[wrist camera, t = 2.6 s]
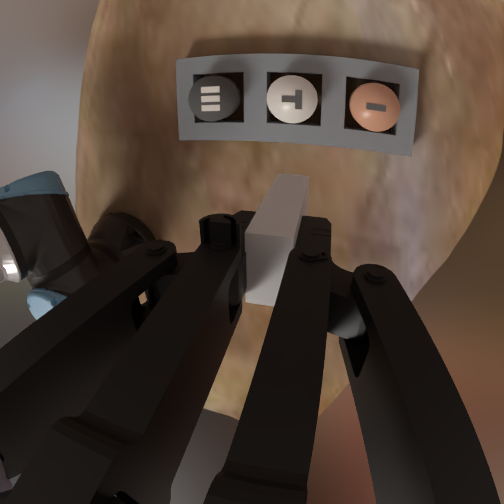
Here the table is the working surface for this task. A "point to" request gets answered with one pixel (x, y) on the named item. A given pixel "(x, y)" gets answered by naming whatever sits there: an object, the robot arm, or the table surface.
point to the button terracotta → (374, 106)
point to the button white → (292, 99)
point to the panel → (325, 133)
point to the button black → (214, 98)
